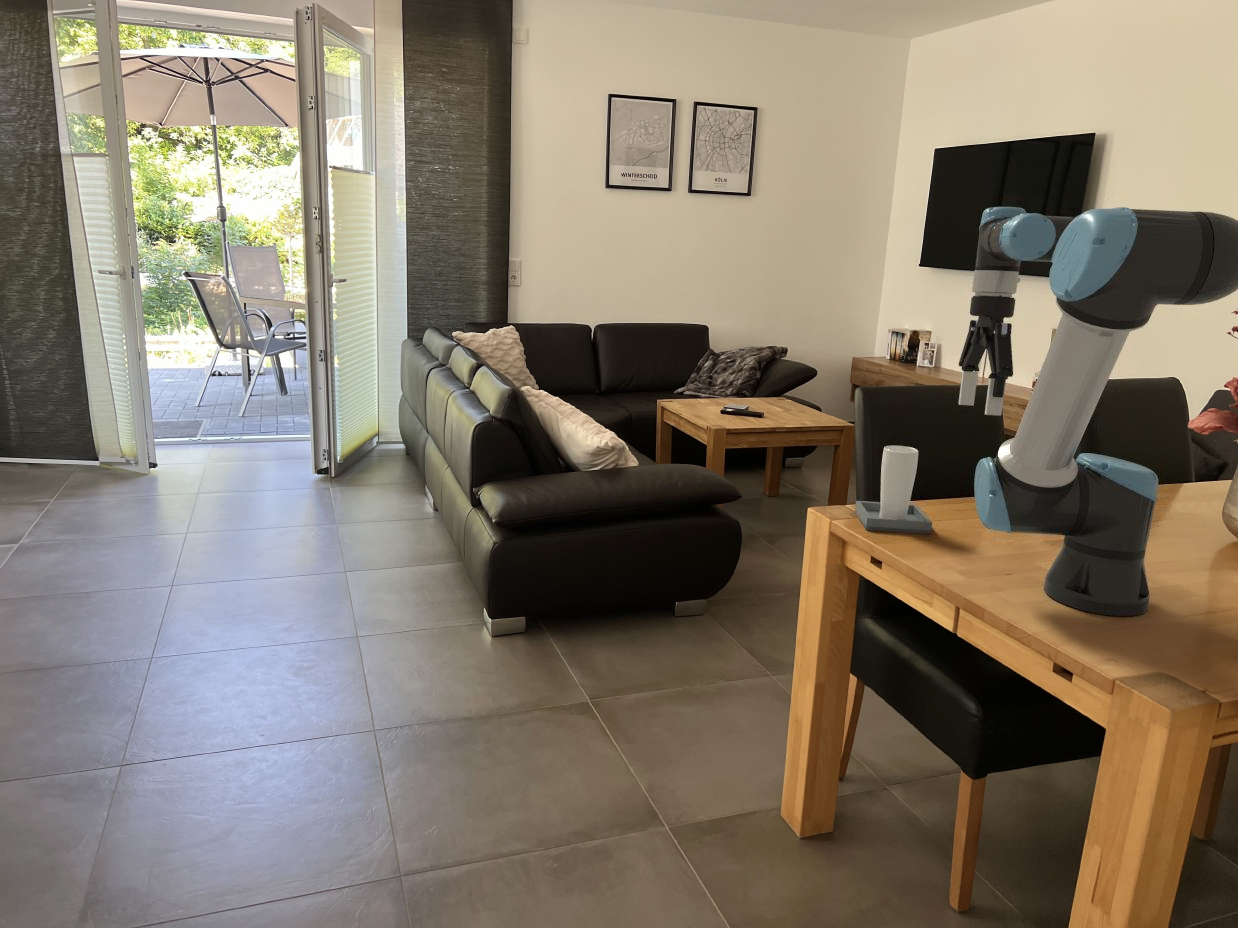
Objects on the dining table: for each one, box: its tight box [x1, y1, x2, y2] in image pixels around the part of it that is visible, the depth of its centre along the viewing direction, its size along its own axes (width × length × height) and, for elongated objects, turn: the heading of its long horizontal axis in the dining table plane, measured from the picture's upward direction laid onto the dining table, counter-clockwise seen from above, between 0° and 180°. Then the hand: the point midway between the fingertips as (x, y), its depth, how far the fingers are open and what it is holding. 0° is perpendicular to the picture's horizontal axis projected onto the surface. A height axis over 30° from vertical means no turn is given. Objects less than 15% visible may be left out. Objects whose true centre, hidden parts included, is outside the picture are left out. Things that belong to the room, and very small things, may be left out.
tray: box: [854, 500, 933, 535], centre depth 180 cm, size 13×13×2 cm
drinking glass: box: [879, 445, 919, 520], centre depth 177 cm, size 7×7×15 cm
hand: (978, 410), depth 166 cm, fingers open, 13 cm apart
